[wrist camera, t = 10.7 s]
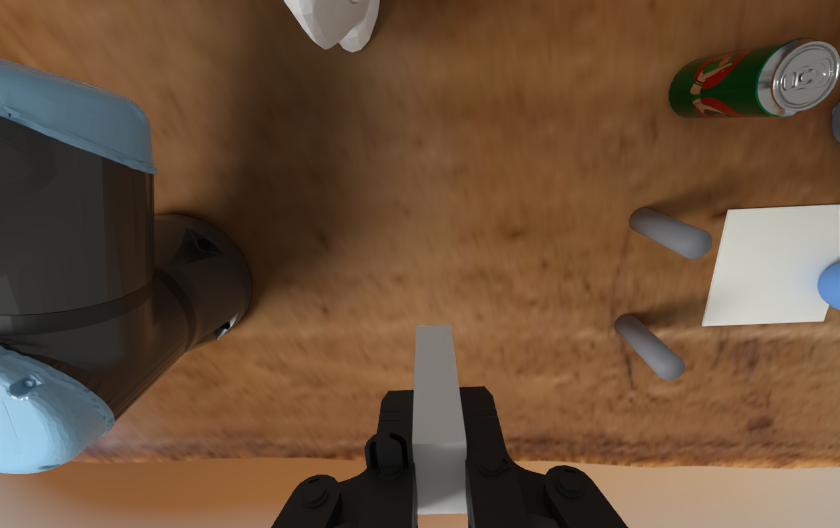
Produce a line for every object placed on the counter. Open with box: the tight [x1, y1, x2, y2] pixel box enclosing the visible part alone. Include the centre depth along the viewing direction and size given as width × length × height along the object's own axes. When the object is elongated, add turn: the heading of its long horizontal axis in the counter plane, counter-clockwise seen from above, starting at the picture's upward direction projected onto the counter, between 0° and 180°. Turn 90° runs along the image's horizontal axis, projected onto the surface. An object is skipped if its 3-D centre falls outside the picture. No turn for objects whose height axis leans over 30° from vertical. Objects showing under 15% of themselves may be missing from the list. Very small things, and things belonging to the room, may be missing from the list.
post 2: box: [615, 314, 685, 380], centre depth 42 cm, size 3×3×9 cm
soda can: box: [669, 38, 840, 118], centre depth 32 cm, size 5×5×12 cm
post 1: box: [629, 208, 712, 259], centre depth 38 cm, size 3×3×9 cm
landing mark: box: [702, 204, 840, 326], centre depth 44 cm, size 14×14×1 cm
